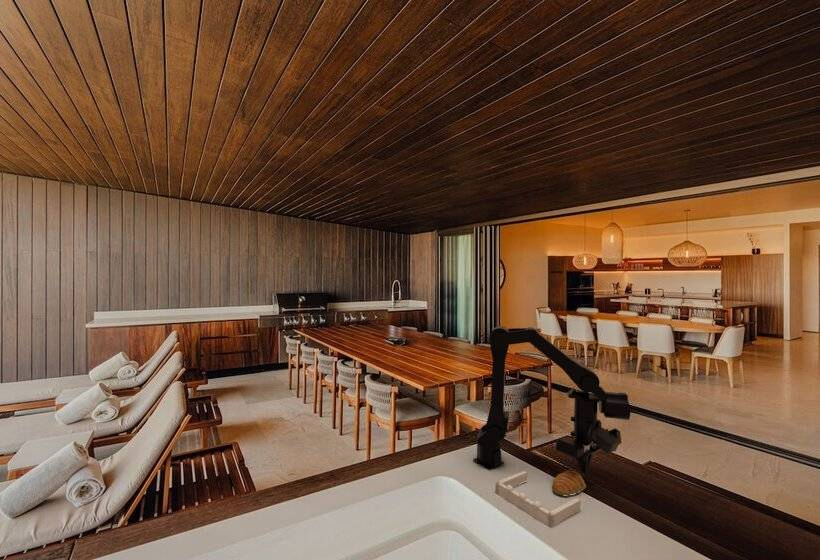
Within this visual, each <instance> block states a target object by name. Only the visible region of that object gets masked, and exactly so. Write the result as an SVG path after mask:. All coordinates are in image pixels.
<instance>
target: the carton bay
mask: <svg viewBox="0 0 820 560" xmlns="http://www.w3.org/2000/svg"><path fill="white" fill-rule="evenodd" d="M526 480H527V481H528V472H527V471H525V470H522V471H520V472H518V473H516V474H512V475H510V476H509V477H506V478H503V479H501V480H498V481H496V482H495V491H494V492H495V493H496V494H497V495H499V496H501V498H503V499H505V500H506V501H508V502H509V503H511V504H513V505H515V506H516V507H518V508H520V509H521V510H522V511H524V512H526V513H527V514H529V515H531V516H533V517H534V518H536V519H537V520H539V521H541V522H542V523H543V524H545V525H546V526H549V527H550V528H553V527H555V526H557V525H558V524H560V523H562V522H564V521H565V520H567V519H569V518H570V517H572V516H574V515H576V514H577V513H579V512H580V511H581V499H579V498H577V497H576V498H574V499H572V500H570V501H568V502H567V503H564V504H563V505H560V506H559V507H557V508H555V509H553V510H551V511H550V510H548V509H546V508H545V507H542V506H543V505H542V504H541V502H540V501H537V500H536V501H532V500H531V499H529V498H528V497H527V494H526V493H524V492H521V493H519V492H517V491H515V490H514V488H516V487H515V486H517V485H519V484H520V483H522V482H524V481H526ZM519 486H520V485H519ZM517 487H518V486H517ZM578 511H579V512H578ZM575 513H576V514H575ZM573 514H574V515H573ZM571 515H572V516H571ZM569 516H570V517H569ZM568 517H569V518H568ZM566 518H567V519H566ZM564 519H565V520H564ZM561 521H562V522H561Z"/></svg>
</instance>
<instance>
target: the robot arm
mask: <svg viewBox="0 0 820 560" xmlns="http://www.w3.org/2000/svg"><path fill="white" fill-rule="evenodd" d="M488 340H489V344H490V345H489V347H490V352H491V356H492V357H491V358H492V367H491V368H492V369H491V386H490V387H491V388H490V389H491V390H490V408H489V411H488V416H487V418H486V419H487V420H486V423H484V425H482V426H481V427H480V429H479V432H478V435H477V442H476V445H477V446H476V457H474V458H473V459H472V461H473V462H474V463H476V464H477V465H480V466H481V467H483V468H484V469H486V470H489V471H490V470H493V469H495V468H497V467H500V466H503V465H504V463H505V462H504V461H502V450H501V443H500V442H501V441H502V440H504V439H505V437H506V435H507V434H506V433H509V430H510V429H509V428H510V422H509V419H510V411H508V410H507V411H506V410H505V406H504V404H505V403H504V400H505V382H506V381H505V380H506V379H505V378H506V363H507V362H506V361H507V360H506V359H507V356H508V351H509V346H510V345H517V344H524V343H528V344H531V345H532V346H533V347H535V348H536V349H537V350H538V351H539V352H540V353H542V354H543V355H544V356H545V357H546V358H548V359H549V360H550V361H552V363H554V364H555V365H557V366H558V367H559V368H560V369H562V371H563V372H564V373H565V374H566V375H567V377H569V378H570V380H571V381H572V382H573V383H574V385H576V386H577V387H578V389H579V390H580V391H579V390H577V389H576V388H575V387H572V388H571V389H570V390H569V391H567V392H566V395H567V397H568V398H569V399H574V401H573V403H574V407H573V408H574V409H573V416H570V422H573V431H570V433H569V434H570V435H569V436H570V437H573V438H574V439H573V438H570V437H568V436H564V437H561V438H559V439H557V440H556V441H555V447H554V448H555V450H556V451H558V452H560V453H563V454H565V455H567V456H569V457H573V458H575V461H576V462H577V465H578V466H579V468H580V471H581V472H582V473H584V474H587V472H588V470H589V468H590V466H591V463H592V459H593V457H594V455H595V453H597V452H599V451H602V452H604V453H605V454H608V455H609V454H611V453H613V452H616V451H617V450H618V447H619V445H621V444H622V436H621V430H619V429H618V428H615V427H614V428H612V429H610V430H609V429H608V428H606V429H605V428H604V427H602V421H601V419H598V411H599V414H603V417H604V418H606V419H607V418H608V419H615V420H624V421H629V420H630V418H631V407H630V402H629V398H628V397H629V395H628V394H627V393H626V392H613V391H612V392H609V391H605V389H604V388H603V387H602V386H601V385H600V383H601V382H600V378H599V376H598V375H597V374H596V373H595V371H594V370H593V368H590V367H588V366H587V365H585V364H583V363H582V362H579V361H577V360H575V359H573V358H571V357H570V356H569V355H567V354H566V353H565V352H563V351H562V350H561V349H560V348H558V347H557V346H556V345H555V344H553V343H552V342H551V341H550V340H549V339H547V338H546V337H545V336H543V335H542V334H541V333H540V332H538V330H537V328H535V327H532V326H528V327H516V328H514V327H511V328H507V327H505V326H504V325H498V326H496V327H494V328H493V329H492V330H491V332H490V333H489V339H488ZM502 464H503V465H502Z"/></svg>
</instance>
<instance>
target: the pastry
mask: <svg viewBox="0 0 820 560" xmlns="http://www.w3.org/2000/svg"><path fill="white" fill-rule="evenodd" d="M586 488H587V484H586V482H585V480H584V479H583V476H582V475H581V474H580V473H579V472H577V471H575V470H568V469H567V470H565V471H563V472H561V473H559V474H557V475H556V476H555V478H553V481H552V484H551V489H553V490H552V492H553V491H554V492H555V493H554V492H553V493H554V494H556V493H557V494H556V495H559V494H560V495H559V496H561V495H570V494H574V493H578V492H579V491H580V493H582V492H583V491H584V490H586ZM581 491H582V492H581ZM578 494H579V493H578Z"/></svg>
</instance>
